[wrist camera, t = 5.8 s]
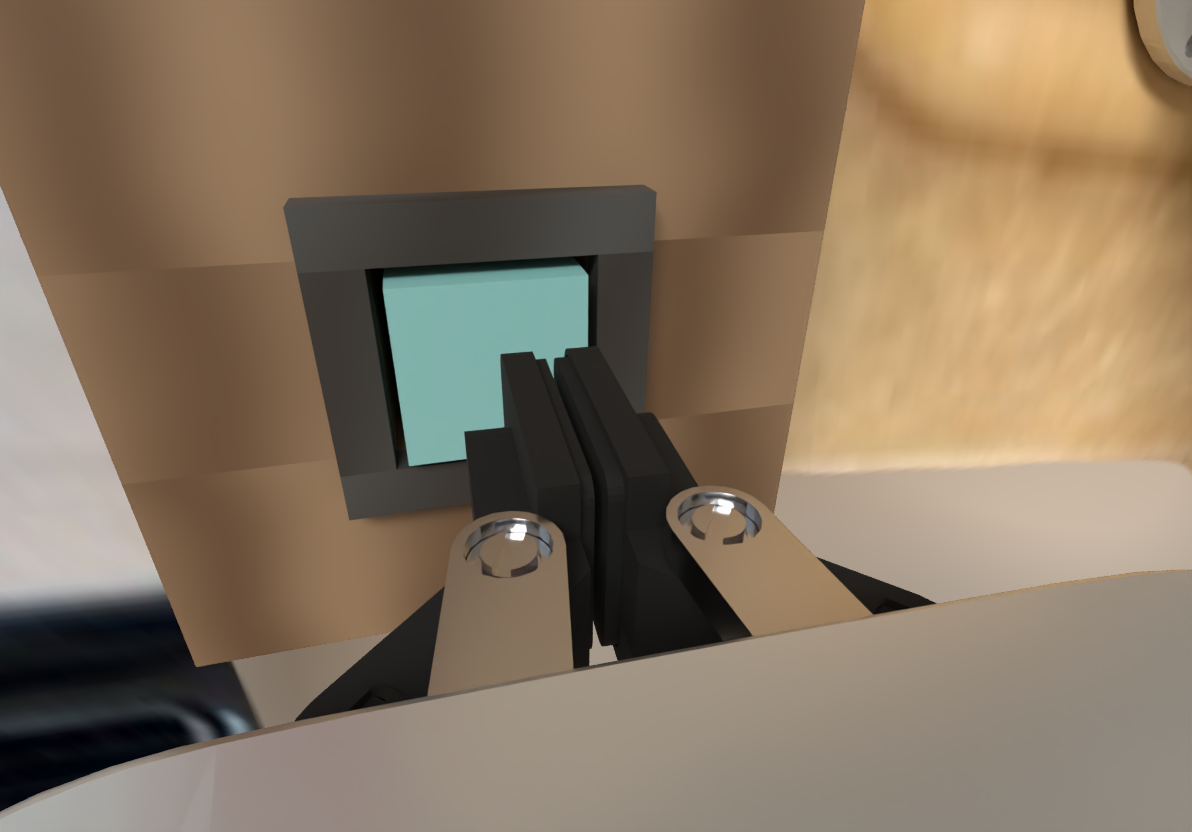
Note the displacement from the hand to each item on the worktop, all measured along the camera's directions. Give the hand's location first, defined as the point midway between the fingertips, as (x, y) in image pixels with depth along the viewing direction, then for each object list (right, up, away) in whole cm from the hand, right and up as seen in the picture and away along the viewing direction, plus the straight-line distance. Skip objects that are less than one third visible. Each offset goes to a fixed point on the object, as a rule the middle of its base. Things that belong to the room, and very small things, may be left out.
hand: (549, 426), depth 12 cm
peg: (-4, +6, +11) cm, 13 cm away
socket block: (-4, +6, +11) cm, 13 cm away
